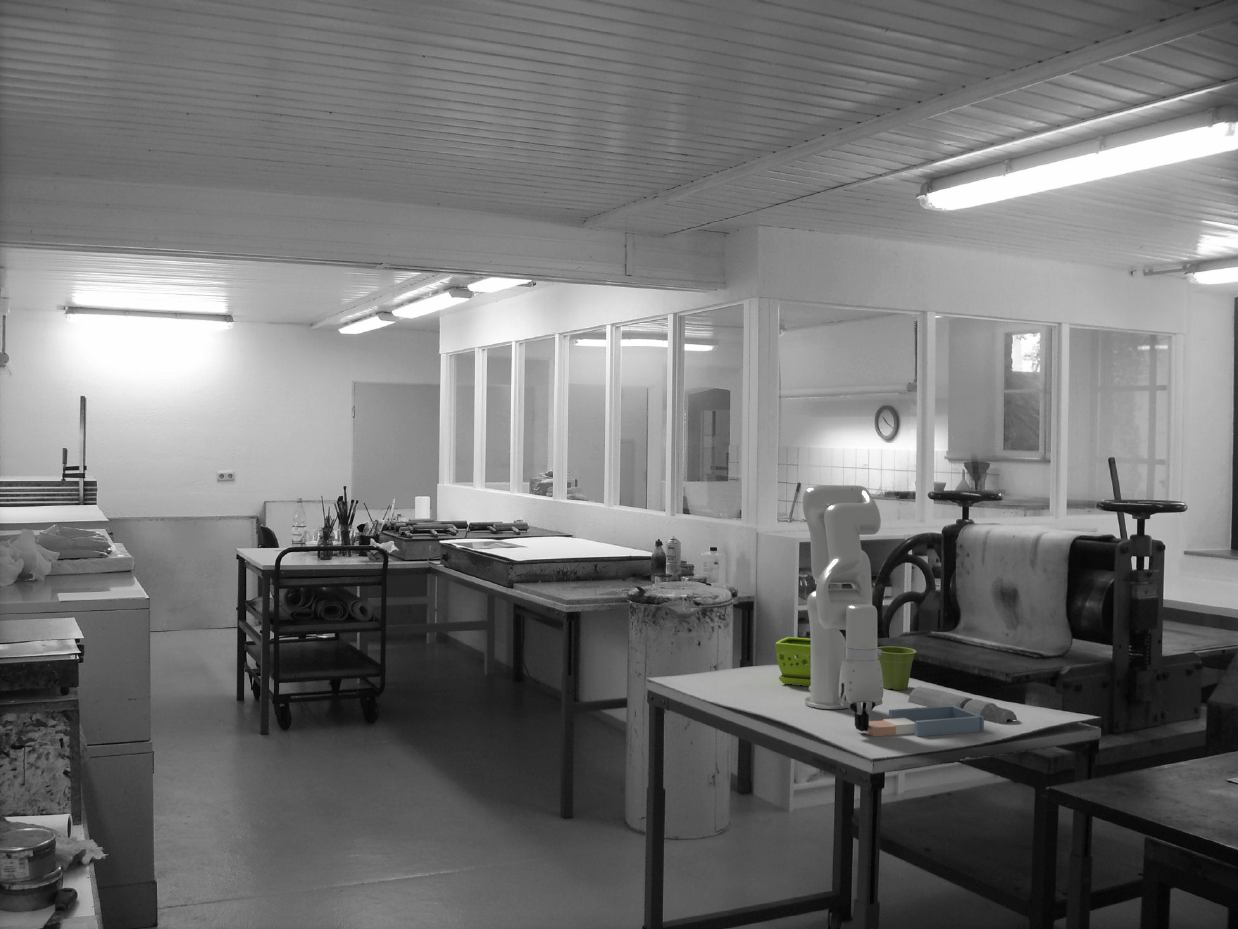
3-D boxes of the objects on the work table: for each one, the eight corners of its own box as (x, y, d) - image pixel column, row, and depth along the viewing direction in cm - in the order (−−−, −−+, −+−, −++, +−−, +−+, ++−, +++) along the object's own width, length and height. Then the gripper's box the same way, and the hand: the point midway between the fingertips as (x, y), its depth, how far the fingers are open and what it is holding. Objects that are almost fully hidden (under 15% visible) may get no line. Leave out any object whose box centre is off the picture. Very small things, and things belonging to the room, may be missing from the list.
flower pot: (819, 689, 311) (819, 646, 311) (773, 685, 317) (773, 642, 317) (831, 681, 324) (831, 639, 324) (787, 676, 330) (787, 635, 330)
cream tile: (883, 729, 266) (883, 719, 266) (904, 727, 268) (904, 717, 268) (895, 735, 260) (895, 725, 260) (917, 733, 262) (917, 723, 262)
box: (889, 723, 271) (889, 710, 271) (953, 718, 276) (953, 705, 276) (917, 736, 258) (917, 722, 258) (983, 731, 263) (983, 717, 263)
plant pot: (899, 694, 305) (899, 654, 305) (866, 687, 314) (866, 649, 314) (924, 688, 312) (924, 650, 312) (891, 682, 322) (891, 644, 322)
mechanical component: (929, 685, 300) (1020, 705, 274) (929, 700, 300) (1020, 722, 274) (907, 688, 295) (998, 709, 270) (907, 703, 295) (998, 726, 270)
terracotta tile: (861, 732, 264) (861, 722, 264) (883, 730, 266) (883, 720, 266) (873, 738, 258) (873, 728, 258) (895, 736, 260) (895, 726, 260)
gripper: (881, 651, 267) (881, 724, 267) (826, 653, 263) (826, 728, 263) (896, 656, 259) (896, 731, 259) (840, 659, 255) (841, 735, 255)
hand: (861, 729), depth 261 cm, fingers closed
